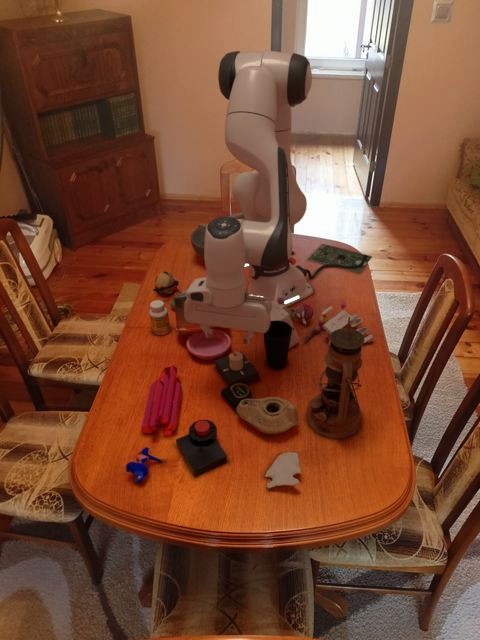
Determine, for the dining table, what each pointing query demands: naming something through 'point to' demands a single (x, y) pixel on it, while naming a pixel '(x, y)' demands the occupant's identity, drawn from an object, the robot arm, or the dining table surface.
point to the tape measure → (236, 393)
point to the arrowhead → (284, 470)
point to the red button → (202, 428)
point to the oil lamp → (268, 414)
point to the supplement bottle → (159, 317)
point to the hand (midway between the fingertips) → (228, 339)
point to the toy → (165, 283)
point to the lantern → (338, 387)
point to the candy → (325, 319)
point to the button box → (201, 450)
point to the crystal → (163, 402)
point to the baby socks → (357, 323)
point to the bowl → (198, 242)
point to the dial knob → (236, 360)
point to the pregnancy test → (336, 320)
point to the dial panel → (237, 371)
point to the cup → (277, 344)
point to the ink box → (282, 315)
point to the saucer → (209, 345)
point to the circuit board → (339, 257)
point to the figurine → (140, 465)
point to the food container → (181, 322)
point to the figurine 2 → (301, 315)
